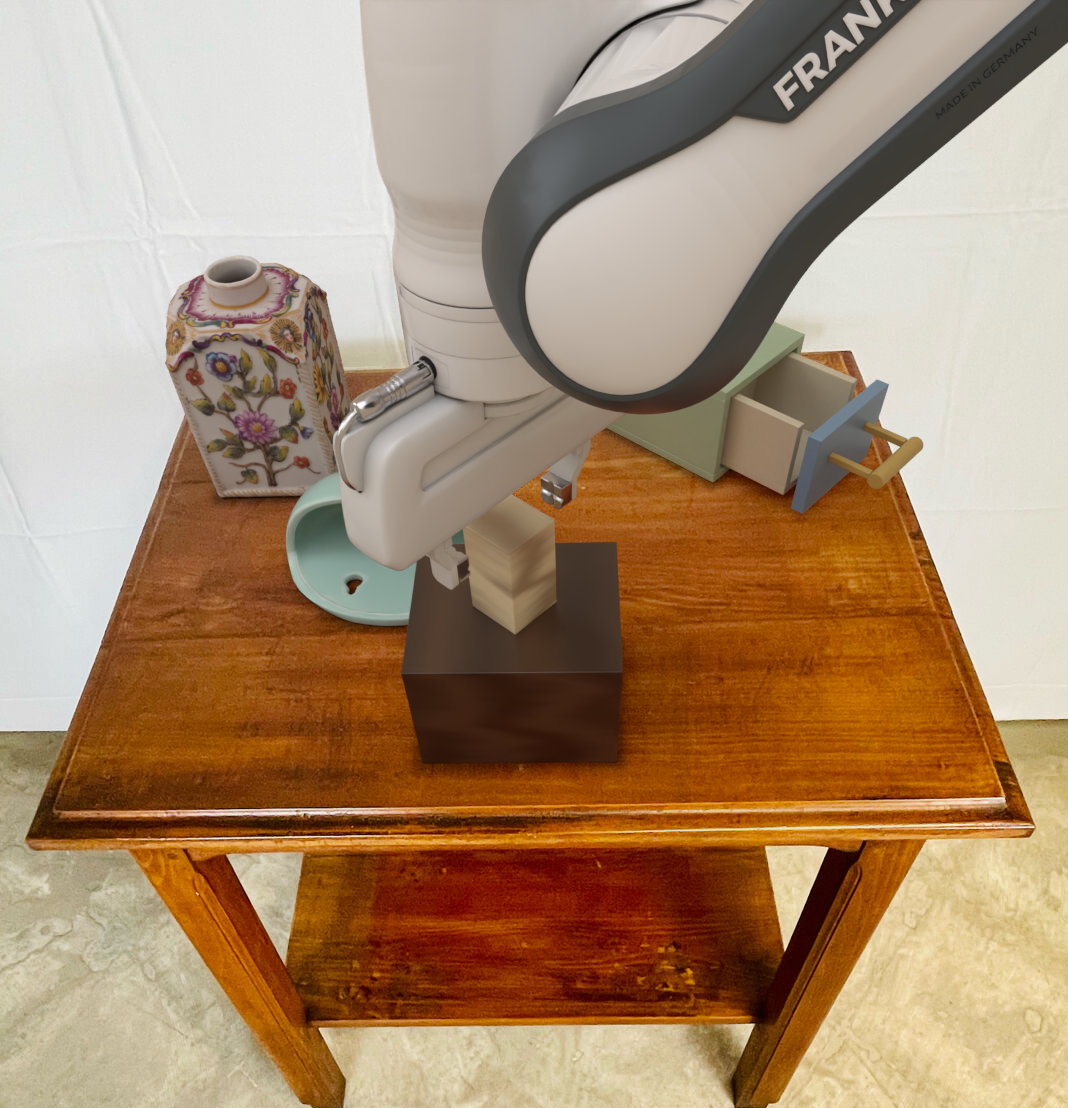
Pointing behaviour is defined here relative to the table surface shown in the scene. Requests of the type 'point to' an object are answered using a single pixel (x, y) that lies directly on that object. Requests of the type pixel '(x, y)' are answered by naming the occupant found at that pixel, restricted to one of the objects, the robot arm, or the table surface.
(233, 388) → the decorative jar
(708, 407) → the cabinet
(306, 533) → the planter
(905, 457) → the drawer
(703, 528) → the table surface
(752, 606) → the table surface
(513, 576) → the block
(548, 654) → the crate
